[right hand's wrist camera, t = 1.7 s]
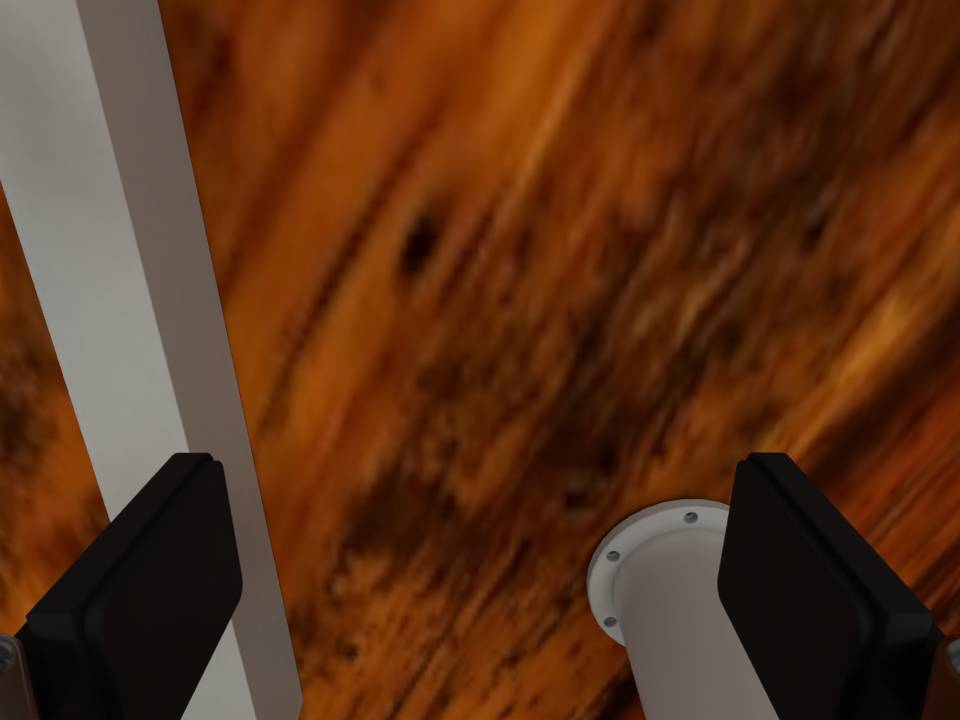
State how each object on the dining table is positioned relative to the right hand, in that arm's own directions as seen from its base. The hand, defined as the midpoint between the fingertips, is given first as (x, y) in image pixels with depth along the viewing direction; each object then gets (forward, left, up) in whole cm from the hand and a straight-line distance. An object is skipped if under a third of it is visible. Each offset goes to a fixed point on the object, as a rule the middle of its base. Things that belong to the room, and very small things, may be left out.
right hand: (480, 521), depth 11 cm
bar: (-7, +17, -24) cm, 30 cm away
